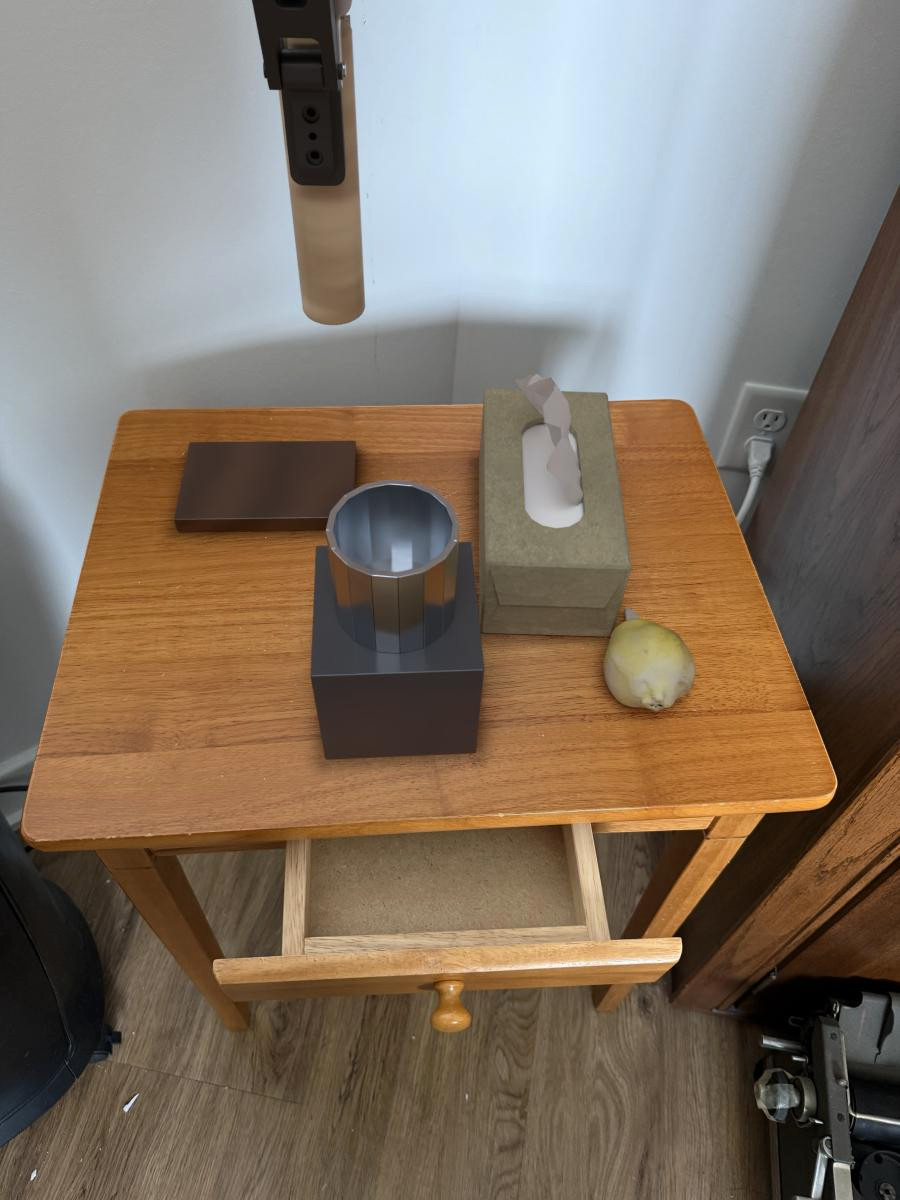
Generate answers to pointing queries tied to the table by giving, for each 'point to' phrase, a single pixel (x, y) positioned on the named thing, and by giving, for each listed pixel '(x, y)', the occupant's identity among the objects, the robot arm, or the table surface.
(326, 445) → the board
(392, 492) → the tin
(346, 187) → the stick
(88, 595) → the table surface
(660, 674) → the fruit
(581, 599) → the tissue box
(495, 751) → the table surface
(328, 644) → the stand
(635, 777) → the table surface
